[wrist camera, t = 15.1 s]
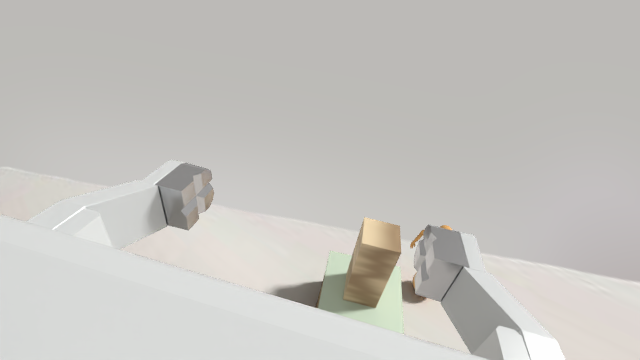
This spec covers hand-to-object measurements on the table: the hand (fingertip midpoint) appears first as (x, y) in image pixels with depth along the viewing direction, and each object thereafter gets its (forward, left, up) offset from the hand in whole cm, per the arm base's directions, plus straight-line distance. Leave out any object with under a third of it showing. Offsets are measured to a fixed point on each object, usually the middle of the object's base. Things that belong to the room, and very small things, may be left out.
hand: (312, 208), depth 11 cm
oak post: (+5, +15, -24) cm, 29 cm away
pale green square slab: (+5, +15, -28) cm, 33 cm away
